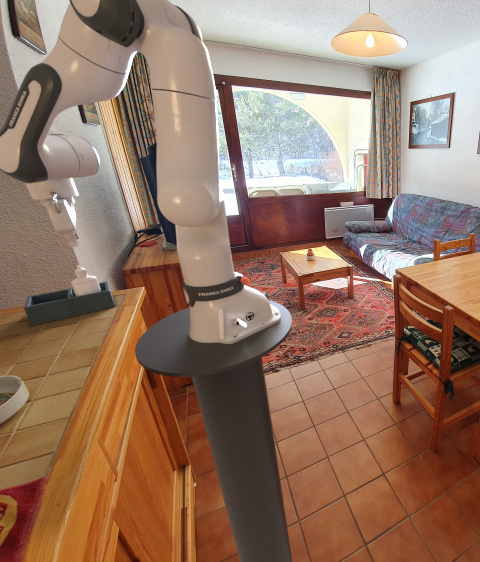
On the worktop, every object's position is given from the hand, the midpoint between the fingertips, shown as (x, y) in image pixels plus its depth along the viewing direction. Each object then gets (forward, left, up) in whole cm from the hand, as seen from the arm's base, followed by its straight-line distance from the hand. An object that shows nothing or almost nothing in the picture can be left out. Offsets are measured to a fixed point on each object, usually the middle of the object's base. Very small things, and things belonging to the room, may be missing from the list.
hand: (74, 242), depth 85 cm
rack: (+5, -1, -20) cm, 20 cm away
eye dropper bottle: (+1, -1, -19) cm, 19 cm away
